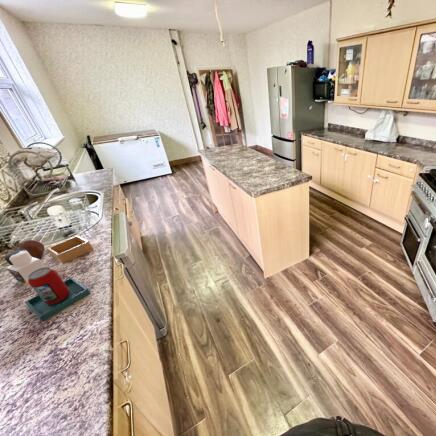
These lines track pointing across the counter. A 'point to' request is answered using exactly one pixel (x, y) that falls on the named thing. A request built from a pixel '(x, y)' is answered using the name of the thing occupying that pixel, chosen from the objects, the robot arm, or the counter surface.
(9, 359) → the counter surface
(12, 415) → the counter surface
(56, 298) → the beverage can
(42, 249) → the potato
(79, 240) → the basket
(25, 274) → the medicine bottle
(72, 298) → the tray
